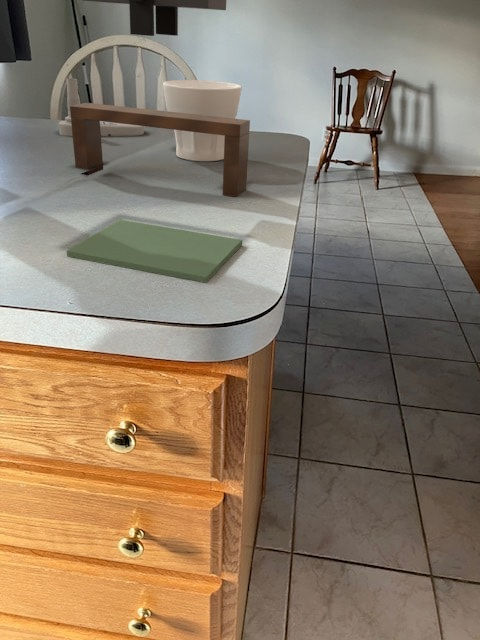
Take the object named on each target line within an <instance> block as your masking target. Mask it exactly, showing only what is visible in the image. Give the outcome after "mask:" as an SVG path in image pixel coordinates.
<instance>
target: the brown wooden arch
mask: <svg viewBox="0 0 480 640" xmlns="http://www.w3.org/2000/svg"><path fill="white" fill-rule="evenodd" d="M70 113H71V124H72V135H73V136H72V144H73V154H74V166H75V169H76V168H77V169H83V170H86V171H84V172H81V173H80V175H81V176H90V175H93V174H95V173H98V172H100V171H103V170H104V161H103V147H102V136H101V130H100V121H104V122H113V123H121V124H130V125H138V126H144V127H148V128H157V129H166V130H172V131H174V130H181V131H190V132H199V133H207V134H216V135H224V136H225V141H224V159H223V168H222V169H223V171H222V196H227V197H232V198H238V197H239V196H241V194H243V193H244V192H245V191H246V190H247V181H248V179H247V178H248V165H249V163H248V162H249V146H250V145H249V144H250V127H251V120H250V119H244V118H243V119H241V118H235V119H233V118H224V117H215V116H205V115H196V114H187V113H177V112H168V111H167V110H158V109H149V108H139V107H131V106H120V105H112V104H102V103H94V102H82V103H79V104H77V105H72V106H70Z"/></svg>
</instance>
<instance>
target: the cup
mask: <svg viewBox="0 0 480 640" xmlns="http://www.w3.org/2000/svg"><path fill="white" fill-rule="evenodd" d="M242 88H243V87H242V85H241V84H237V83H233V82H226V81H217V80H203V79H201V80H200V79H172V80H165V81H164V82H163V83H162V89H163V95H164V101H165V107H166V108H165V109H166V111H168V112H177V113H187V114H196V115H205V116H215V117H224V118H233V119H236V118H237V116H238V112H239V104H240V98H241V93H242ZM173 131H174V139H175V145H176V146H175V147H176V148H175V149H176V150H175V153H176V154H175V155H176V157H178V158H179V159H181V160H185V161H192V162H204V163H205V162H207V163H209V162H210V163H211V162H219V161H224V141H225V136H224V135H216V134H207V133H199V132H190V131H181V130H173Z"/></svg>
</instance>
